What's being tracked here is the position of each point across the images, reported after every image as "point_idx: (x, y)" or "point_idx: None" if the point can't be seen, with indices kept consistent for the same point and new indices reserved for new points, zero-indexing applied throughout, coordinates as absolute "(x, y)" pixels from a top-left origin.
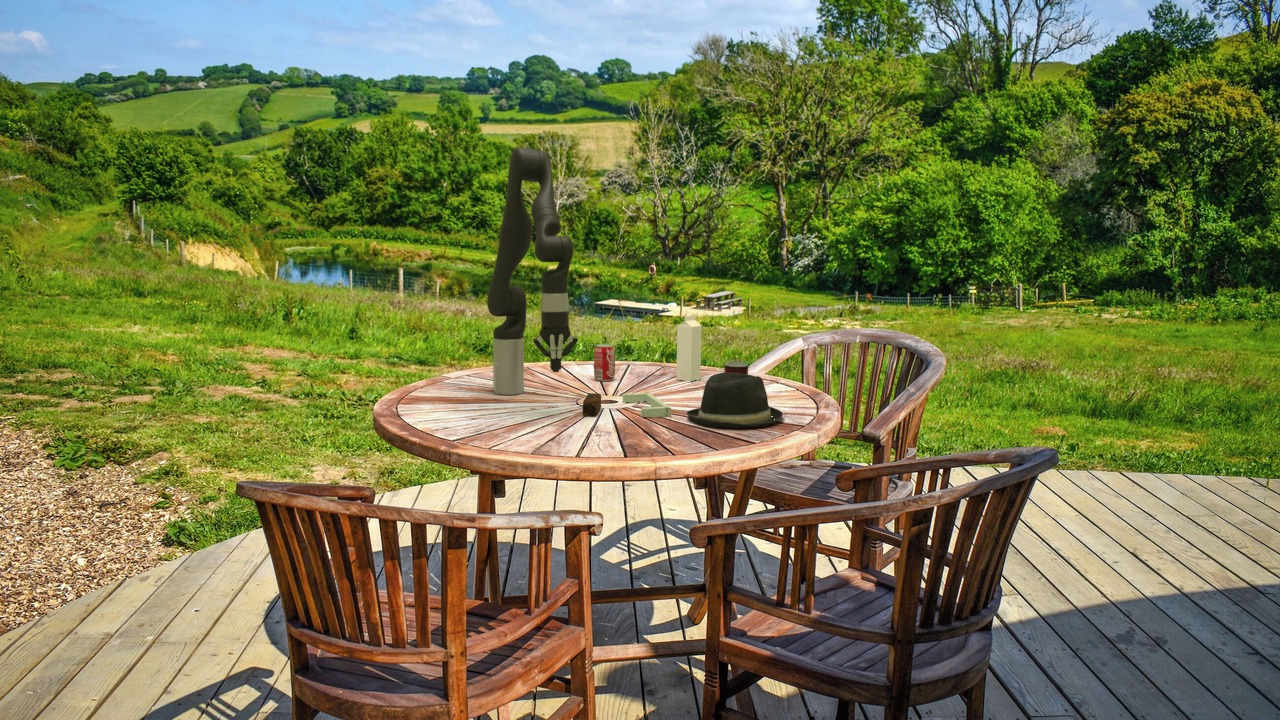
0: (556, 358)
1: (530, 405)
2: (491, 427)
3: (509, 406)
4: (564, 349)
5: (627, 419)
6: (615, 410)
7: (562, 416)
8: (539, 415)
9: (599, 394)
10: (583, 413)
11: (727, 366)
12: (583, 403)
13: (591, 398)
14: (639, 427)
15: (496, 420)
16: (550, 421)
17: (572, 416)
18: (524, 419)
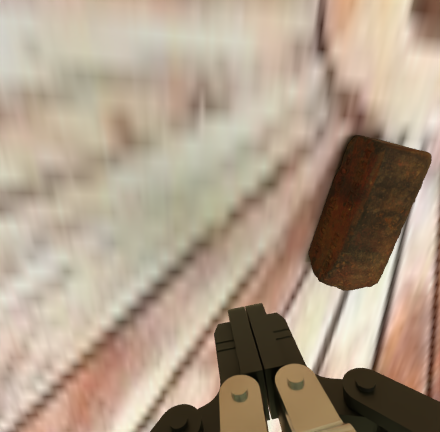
0: (274, 398)
1: (103, 55)
2: (18, 389)
3: (3, 71)
4: (387, 428)
5: (428, 297)
6: (434, 175)
7: (238, 260)
8: (157, 245)
9: (421, 181)
10: (311, 262)
11: None
12: (326, 278)
13: (369, 251)
14: (428, 374)
15: (11, 312)
16: (197, 321)
17: (272, 260)
18: (108, 299)
